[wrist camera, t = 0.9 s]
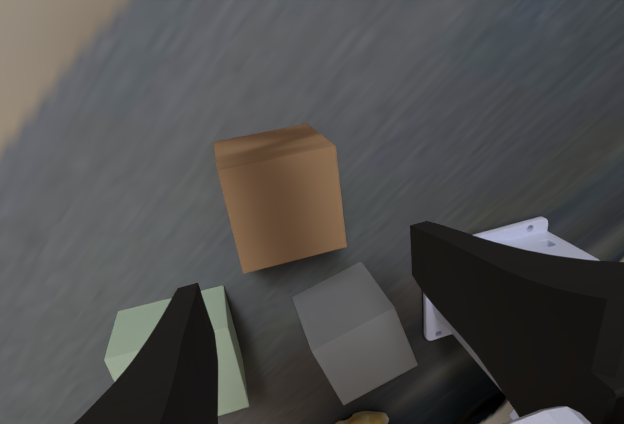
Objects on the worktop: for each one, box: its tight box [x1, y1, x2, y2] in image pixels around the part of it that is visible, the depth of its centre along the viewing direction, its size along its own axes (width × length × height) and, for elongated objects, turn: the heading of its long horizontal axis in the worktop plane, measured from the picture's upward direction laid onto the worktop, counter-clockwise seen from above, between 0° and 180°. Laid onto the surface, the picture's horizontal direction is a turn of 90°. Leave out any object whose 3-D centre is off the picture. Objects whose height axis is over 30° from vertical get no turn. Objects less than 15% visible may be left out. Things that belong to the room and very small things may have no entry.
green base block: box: [104, 286, 249, 416], centre depth 23 cm, size 6×6×4 cm
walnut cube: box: [213, 124, 347, 274], centre depth 20 cm, size 5×5×5 cm
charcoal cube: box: [292, 262, 418, 405], centre depth 24 cm, size 5×5×5 cm
